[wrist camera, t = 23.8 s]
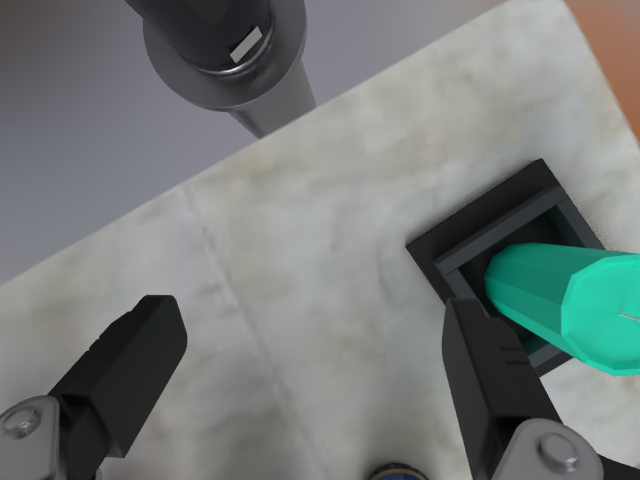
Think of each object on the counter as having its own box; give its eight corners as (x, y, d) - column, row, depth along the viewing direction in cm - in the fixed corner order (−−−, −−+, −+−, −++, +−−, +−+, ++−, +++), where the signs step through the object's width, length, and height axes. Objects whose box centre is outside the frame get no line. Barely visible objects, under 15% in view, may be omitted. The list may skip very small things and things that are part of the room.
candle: (548, 230, 27) (700, 235, 15) (577, 303, 27) (752, 366, 15) (471, 259, 28) (559, 285, 16) (500, 331, 28) (609, 411, 16)
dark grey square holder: (404, 246, 29) (410, 248, 26) (536, 159, 28) (557, 152, 25) (503, 391, 29) (519, 409, 26) (641, 310, 28) (673, 320, 25)
